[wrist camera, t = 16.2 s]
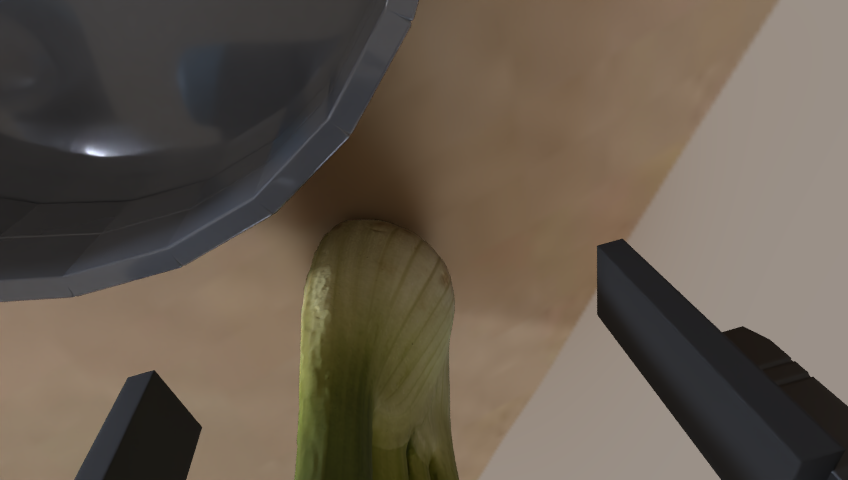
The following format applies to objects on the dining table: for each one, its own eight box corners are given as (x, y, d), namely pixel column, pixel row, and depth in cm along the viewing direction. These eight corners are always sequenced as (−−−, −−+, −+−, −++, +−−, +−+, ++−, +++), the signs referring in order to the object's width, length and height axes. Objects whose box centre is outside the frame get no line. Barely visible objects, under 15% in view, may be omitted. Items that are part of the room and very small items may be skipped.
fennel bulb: (293, 202, 15) (194, 723, 4) (438, 186, 15) (642, 613, 5) (322, 331, 18) (302, 813, 8) (442, 313, 18) (574, 739, 8)
